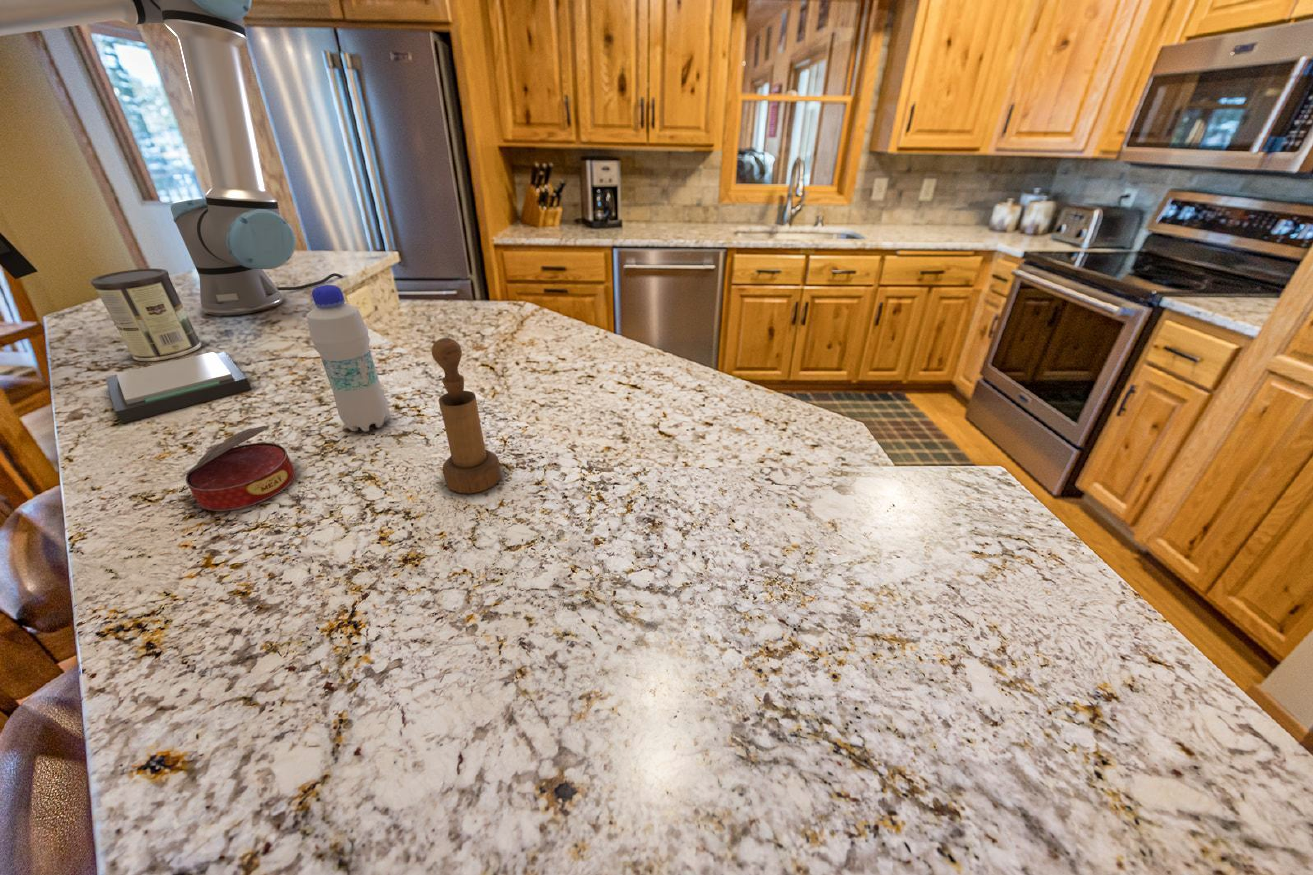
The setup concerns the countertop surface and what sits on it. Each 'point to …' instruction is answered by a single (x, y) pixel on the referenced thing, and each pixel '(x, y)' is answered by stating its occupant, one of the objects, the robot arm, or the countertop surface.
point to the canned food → (240, 473)
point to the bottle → (347, 359)
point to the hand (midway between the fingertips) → (23, 272)
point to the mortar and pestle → (463, 428)
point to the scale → (174, 385)
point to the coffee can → (147, 313)
